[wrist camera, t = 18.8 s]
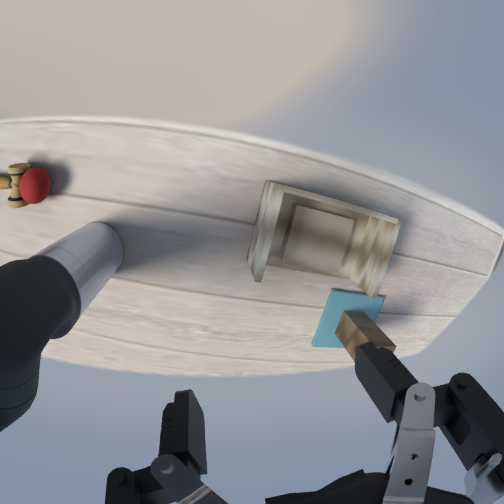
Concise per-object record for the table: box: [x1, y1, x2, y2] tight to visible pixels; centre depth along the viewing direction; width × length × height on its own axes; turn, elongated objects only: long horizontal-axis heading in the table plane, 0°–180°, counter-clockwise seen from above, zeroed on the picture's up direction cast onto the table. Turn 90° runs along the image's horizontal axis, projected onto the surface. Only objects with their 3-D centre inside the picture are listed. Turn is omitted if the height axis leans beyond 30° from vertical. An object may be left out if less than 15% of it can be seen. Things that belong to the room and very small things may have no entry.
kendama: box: [0, 163, 52, 208], centre depth 33 cm, size 8×6×18 cm
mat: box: [311, 289, 384, 348], centre depth 51 cm, size 12×12×1 cm
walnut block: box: [335, 311, 396, 362], centre depth 45 cm, size 5×5×12 cm
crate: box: [247, 181, 402, 299], centre depth 41 cm, size 13×20×9 cm, turn 77°
